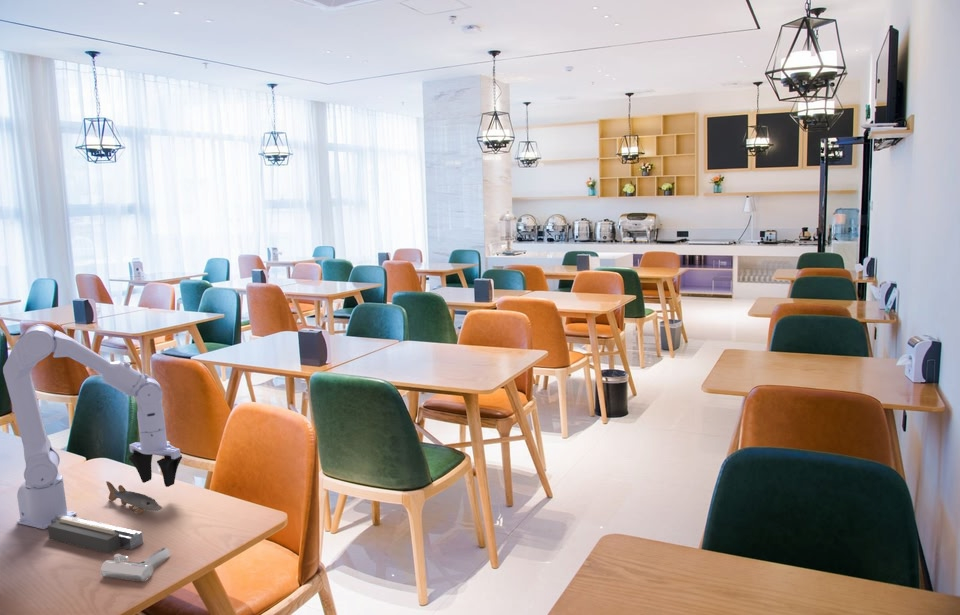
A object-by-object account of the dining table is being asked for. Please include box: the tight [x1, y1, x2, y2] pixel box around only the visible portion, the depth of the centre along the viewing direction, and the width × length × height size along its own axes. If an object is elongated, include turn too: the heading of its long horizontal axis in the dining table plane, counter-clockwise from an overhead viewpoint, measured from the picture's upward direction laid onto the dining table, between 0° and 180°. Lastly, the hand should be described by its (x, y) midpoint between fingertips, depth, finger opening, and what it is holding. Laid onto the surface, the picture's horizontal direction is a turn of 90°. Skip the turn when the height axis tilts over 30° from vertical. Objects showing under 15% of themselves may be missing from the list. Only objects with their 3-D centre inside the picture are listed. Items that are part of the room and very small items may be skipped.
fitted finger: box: [47, 518, 122, 555], centre depth 146 cm, size 18×3×4 cm, turn 66°
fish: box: [105, 481, 163, 515], centre depth 162 cm, size 4×21×5 cm, turn 58°
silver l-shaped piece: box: [100, 547, 171, 582], centre depth 136 cm, size 10×4×9 cm
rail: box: [51, 514, 144, 551], centre depth 149 cm, size 24×3×3 cm, turn 66°
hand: (158, 483), depth 168 cm, fingers open, 7 cm apart
